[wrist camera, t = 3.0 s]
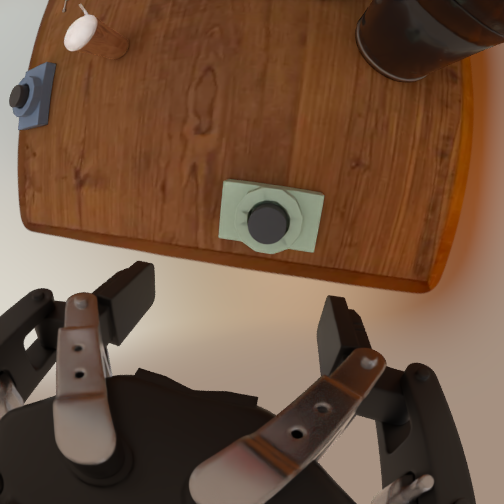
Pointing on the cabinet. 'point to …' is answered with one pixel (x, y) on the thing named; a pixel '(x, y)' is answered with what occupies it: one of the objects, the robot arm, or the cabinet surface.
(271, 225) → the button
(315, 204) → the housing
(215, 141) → the cabinet surface
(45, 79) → the blue knob block
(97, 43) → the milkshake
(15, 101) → the dark grey push button
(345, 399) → the robot arm
